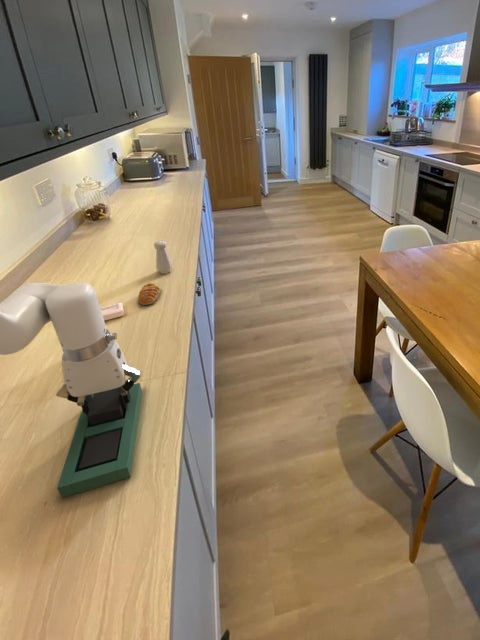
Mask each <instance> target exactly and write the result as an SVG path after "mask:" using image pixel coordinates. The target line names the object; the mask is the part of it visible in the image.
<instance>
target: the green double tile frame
mask: <svg viewBox="0 0 480 640" xmlns="http://www.w3.org/2000/svg"><path fill="white" fill-rule="evenodd" d="M142 389H143V388H142V386H141V383H140V382H136V383H134V385H133V386H132V387H131V389H130V390H129V394H130V403H128V404H127V409H126V410H125V412H124V418H122V419H118V420H114V421H110V422H106V423H102V424H99V425H95V426H90V423H89V420H88V418H87V415H86V413H85V414H84V412H83V410H82V409H81V412H80V416H79V418H78V421H77V425H76V428H75V430H74V434H73V437H72V440H71V443H70V447H69V450H68V452H67V456H66V459H65V462H64V466H63V468H62V472H61V473H60V478H59V481H58V484H57V487H56V489H57V490H58V493H59V495H60V496H61V498H62V499H63V498H64V499H65V498H67V497H71V496H73V495H76V494H81V493H83V492H87V491H90V490H94V489H96V488H100V487H103V486H107V485H110V484H113V483H116V482H119V481H123V480H125V479H126V480H127V479H129V478H131V477H132V468H133V463H134V455H135V448H136V447H135V446H136V439H137V433H138V427H139V426H138V425H139V417H140V411H141V404H142V397H143V395H142V394H143V390H142ZM90 395H92V398H93V395H94V394H90ZM120 429H121V432H122V436H121V441H120V447H119V452H118V458H117V460H116V461H113V462H109V463H106V464H103V465H99V466H96V467H92V468H89V469H85V470H82V471H80V470H79V467H80V463H81V459H82V456H83V452H84V449H85V445H86V441H87V438H90V437H94V436H98V435H102V434H105V433H109V432H113V431H117V430H120Z"/></svg>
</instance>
